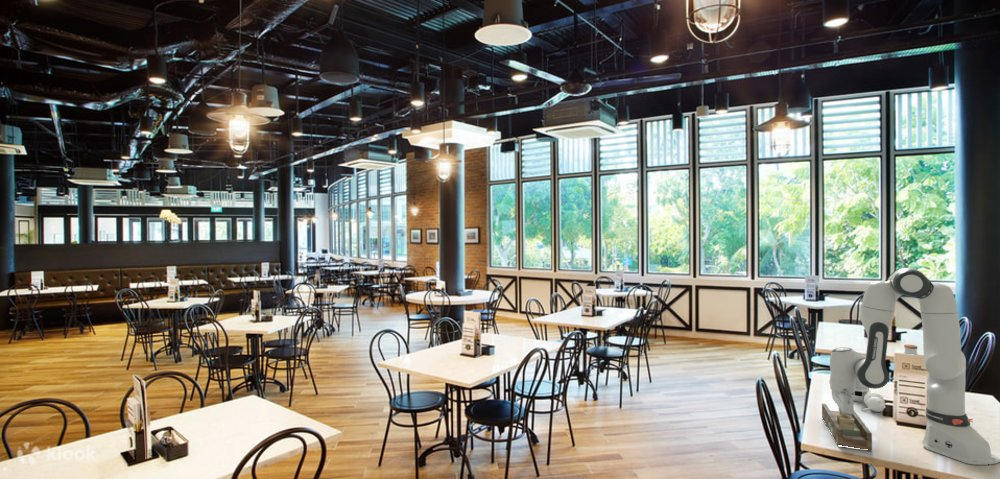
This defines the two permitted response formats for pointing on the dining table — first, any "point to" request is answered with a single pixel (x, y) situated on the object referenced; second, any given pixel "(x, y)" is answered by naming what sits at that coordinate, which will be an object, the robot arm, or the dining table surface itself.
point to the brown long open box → (847, 430)
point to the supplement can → (859, 391)
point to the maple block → (845, 421)
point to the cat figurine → (874, 401)
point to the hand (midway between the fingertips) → (843, 418)
